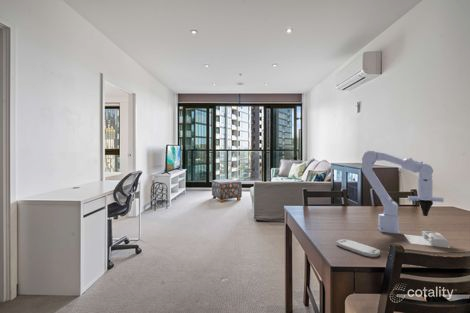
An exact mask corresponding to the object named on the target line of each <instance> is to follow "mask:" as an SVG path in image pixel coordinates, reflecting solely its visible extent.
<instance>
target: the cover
mask: <svg viewBox="0 0 470 313" xmlns="http://www.w3.org/2000/svg"><path fill="white" fill-rule="evenodd" d="M438 233H439V232H437V233H425V234H426V235H427V236H428V237H429V238H430V239H433V240H446V241H448V239H447V238H446V237H444V236H443V235H442V234H441V233H439V234H438Z"/></svg>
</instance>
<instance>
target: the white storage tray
mask: <svg viewBox="0 0 470 313" xmlns="http://www.w3.org/2000/svg"><path fill="white" fill-rule="evenodd" d="M425 233H438V234H440V233H439V232H437V231H427V230H422V231H421V235H413V234H412V235H411V234H403V235H404V236H405V238H406V239H407V241H408V242H409V243H410V244H413V245H421V246H428V247H429V246H431V247H439V248H449V249H451V246H449V240H447V241H446V240H433V239H430V238H429V237H428V236H427V235H426V234H425Z"/></svg>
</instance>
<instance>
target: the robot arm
mask: <svg viewBox="0 0 470 313" xmlns="http://www.w3.org/2000/svg"><path fill="white" fill-rule="evenodd" d="M376 161H378V162H379V161H386V162H389V163H392V164H396V165H399V166H401V169H403V170H406V171H409V172H412V173H415V174H416V173H419V174H418V184H417V185H418V186H417V187H418V189H417V190H418V193H417V195H416V196H415V195H407V200H408V201H409V202H410V201H414V202H415V201H417V202H418V205H419V207H420V208H421V212H422V216H424V217H428V216H429V211H430V209H431V208H432V206H433V204H434V202H440V203H445V202H444V201H445V200H444V198H443V197H441V196H440V197H437V196H433V173H434V169H433V167H432V166H431V165H430V164H427V163H424V161H417V160H415V159H413V158H412V157H409V158H408V157H407V158H403V159H402V158H399V157H396V156H394V155H390V154H388V153H384V152H379V151H374V150H367V151H366V152H364V154H363V156H362V158H361V172H362V173H363V175H364V176H365V178H366V179H367V181H368V182H369V184H370V186H371V187H372V189H373V190H374V192H375V194H376V195H377V196H378V197H377V198H379V200H380V203H381V204H382V207H383V212H382V213H378V216H377V217H378V219H377V229H378V230H379V232H380V233H390V234H401V231H400V229H399V225H400V224H399V223H400V214H399V213H398V210H399V204H398V202H396V201H394V200H393V198H392V197H391V196H390V195H389V194H388V192H387V190H386V189H385V187H384V185H383V184H382V183H381V181H380V179H379V178H378V177H377V175H376V173H375V171H374V170H373V167H374V165H375V163H376Z"/></svg>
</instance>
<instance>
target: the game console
mask: <svg viewBox="0 0 470 313" xmlns="http://www.w3.org/2000/svg"><path fill="white" fill-rule="evenodd" d="M336 245H337V246H338V247H340V248H342V249H345V250H348V251H350V252H353V253H355V254H359V255H362V256H364V257H369V258H377V257H379V256H380V255H381V250H380V249H378V248H376V247H373V246H370V245H367V244H365V243H364V244H363V243H360V242H358V241H354V240H351V239H343V238H342V239H341V238H340V239H338V240H336Z"/></svg>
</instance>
